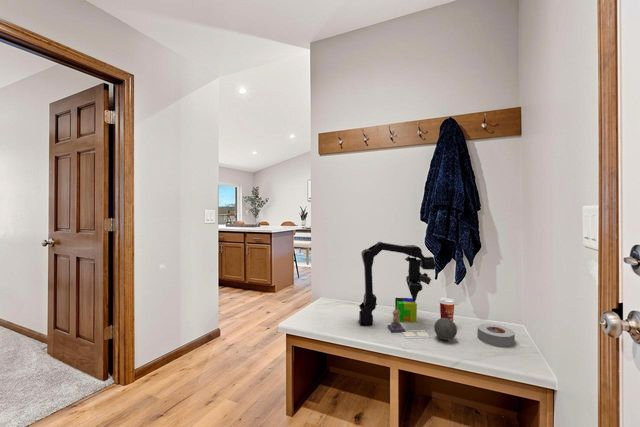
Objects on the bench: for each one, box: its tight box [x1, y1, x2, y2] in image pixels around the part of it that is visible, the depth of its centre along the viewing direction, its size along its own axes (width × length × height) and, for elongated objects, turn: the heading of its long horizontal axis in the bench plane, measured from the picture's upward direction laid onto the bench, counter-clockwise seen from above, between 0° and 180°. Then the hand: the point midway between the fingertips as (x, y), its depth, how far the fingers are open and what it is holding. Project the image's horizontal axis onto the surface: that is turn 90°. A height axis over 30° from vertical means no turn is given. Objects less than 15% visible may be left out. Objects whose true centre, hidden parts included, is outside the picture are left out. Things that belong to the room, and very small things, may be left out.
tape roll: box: [477, 323, 516, 348], centre depth 147 cm, size 15×15×5 cm
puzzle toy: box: [394, 297, 418, 323], centre depth 174 cm, size 10×10×10 cm
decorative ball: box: [433, 317, 458, 341], centre depth 148 cm, size 10×10×10 cm
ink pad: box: [387, 323, 406, 334], centre depth 159 cm, size 7×7×2 cm
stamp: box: [390, 309, 402, 328], centre depth 158 cm, size 4×4×9 cm
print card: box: [400, 329, 433, 339], centre depth 153 cm, size 13×8×1 cm, turn 94°
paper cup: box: [439, 297, 456, 322], centre depth 163 cm, size 8×8×14 cm
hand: (413, 298), depth 166 cm, fingers open, 9 cm apart
